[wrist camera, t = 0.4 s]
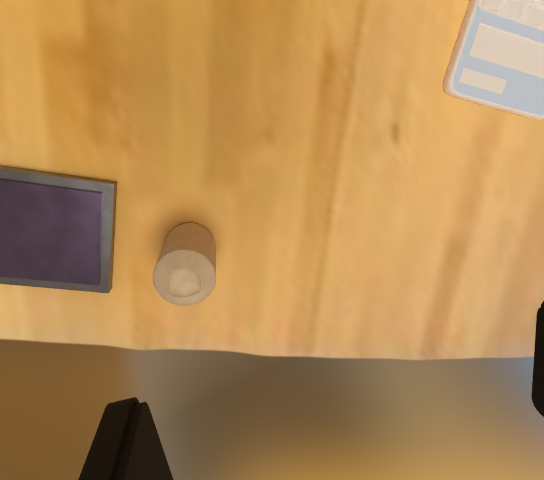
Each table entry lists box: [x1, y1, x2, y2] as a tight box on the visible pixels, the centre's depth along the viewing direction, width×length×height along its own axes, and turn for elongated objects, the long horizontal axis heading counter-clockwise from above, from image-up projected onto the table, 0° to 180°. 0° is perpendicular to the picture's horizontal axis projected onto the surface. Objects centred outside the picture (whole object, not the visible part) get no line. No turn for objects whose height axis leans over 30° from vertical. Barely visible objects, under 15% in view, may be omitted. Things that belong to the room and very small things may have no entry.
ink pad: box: [0, 166, 117, 293], centre depth 38 cm, size 12×12×2 cm
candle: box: [153, 223, 216, 306], centre depth 37 cm, size 6×6×10 cm
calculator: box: [443, 0, 544, 119], centre depth 38 cm, size 13×20×2 cm, turn 167°
